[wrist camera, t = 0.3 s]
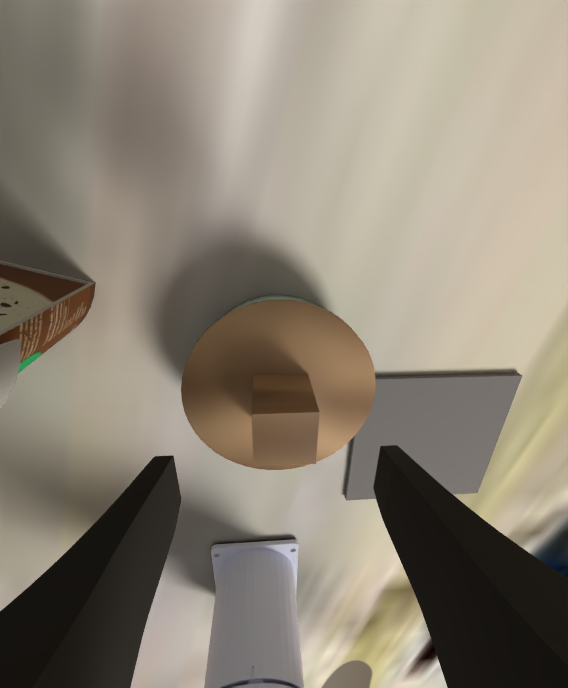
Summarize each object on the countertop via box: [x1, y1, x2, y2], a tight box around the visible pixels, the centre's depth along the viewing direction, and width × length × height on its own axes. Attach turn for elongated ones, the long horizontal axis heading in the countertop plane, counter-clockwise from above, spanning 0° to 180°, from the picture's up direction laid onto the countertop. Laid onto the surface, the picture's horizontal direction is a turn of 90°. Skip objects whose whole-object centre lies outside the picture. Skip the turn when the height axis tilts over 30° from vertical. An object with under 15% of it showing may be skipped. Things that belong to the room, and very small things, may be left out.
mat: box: [345, 373, 522, 500], centre depth 23 cm, size 12×12×1 cm
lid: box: [181, 299, 376, 470], centre depth 15 cm, size 11×11×4 cm
